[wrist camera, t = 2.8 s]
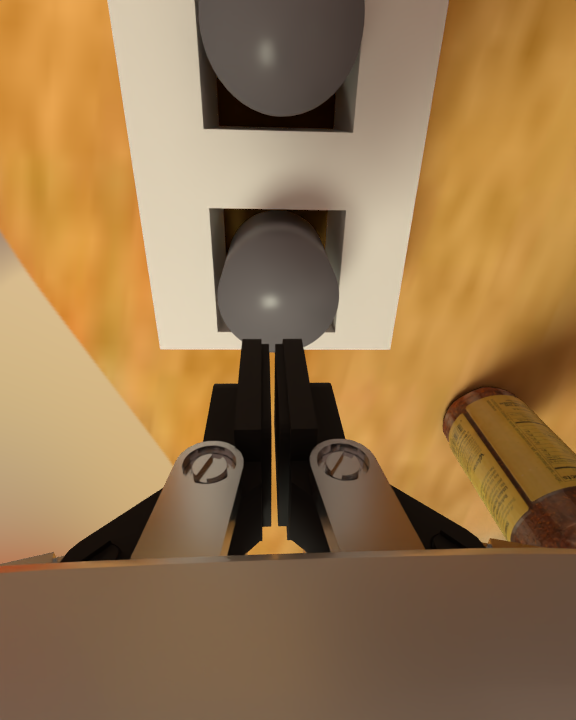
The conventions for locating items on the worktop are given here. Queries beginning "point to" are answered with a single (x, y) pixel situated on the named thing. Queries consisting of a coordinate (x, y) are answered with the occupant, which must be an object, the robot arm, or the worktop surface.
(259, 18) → the middle cap
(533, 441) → the sauce bottle
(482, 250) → the worktop surface
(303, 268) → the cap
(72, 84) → the worktop surface
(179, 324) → the button panel
